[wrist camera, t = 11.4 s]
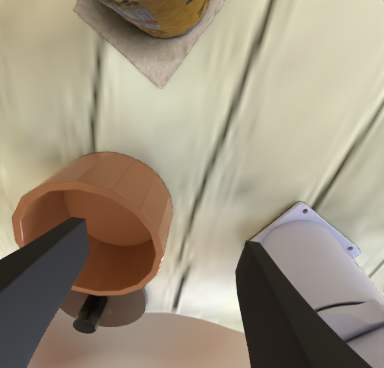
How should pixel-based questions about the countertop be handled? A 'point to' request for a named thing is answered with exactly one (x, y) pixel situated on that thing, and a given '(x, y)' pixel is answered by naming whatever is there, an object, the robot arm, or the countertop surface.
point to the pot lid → (104, 309)
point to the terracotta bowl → (104, 219)
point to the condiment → (150, 30)
